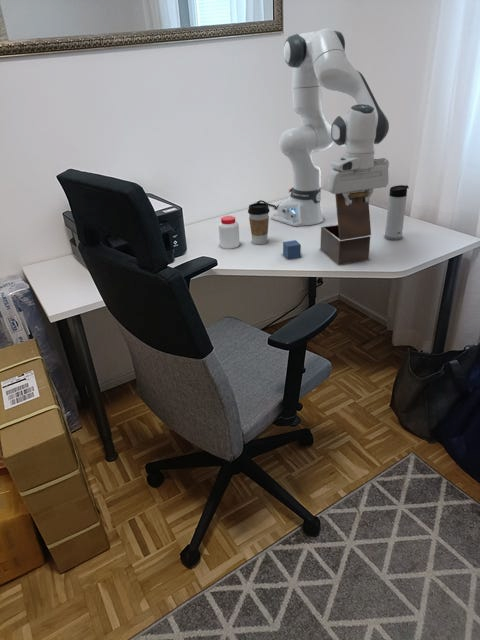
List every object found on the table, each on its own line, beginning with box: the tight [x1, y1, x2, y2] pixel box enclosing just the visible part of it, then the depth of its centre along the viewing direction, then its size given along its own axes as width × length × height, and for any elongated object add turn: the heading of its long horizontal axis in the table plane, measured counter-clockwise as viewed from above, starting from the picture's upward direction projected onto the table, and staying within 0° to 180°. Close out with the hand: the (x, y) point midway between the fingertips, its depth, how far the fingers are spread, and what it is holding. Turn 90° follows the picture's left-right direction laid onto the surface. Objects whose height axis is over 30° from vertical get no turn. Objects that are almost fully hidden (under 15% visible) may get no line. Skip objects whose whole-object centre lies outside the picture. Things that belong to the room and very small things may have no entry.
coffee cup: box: [247, 202, 271, 245], centre depth 191 cm, size 8×8×15 cm
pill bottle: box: [218, 215, 241, 250], centre depth 191 cm, size 8×8×11 cm
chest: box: [320, 224, 371, 266], centre depth 177 cm, size 16×12×9 cm
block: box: [282, 239, 302, 260], centre depth 180 cm, size 5×5×5 cm
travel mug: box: [384, 184, 409, 241], centre depth 186 cm, size 6×7×20 cm
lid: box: [334, 190, 372, 240], centre depth 165 cm, size 16×12×5 cm
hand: (357, 203), depth 163 cm, fingers open, 5 cm apart
